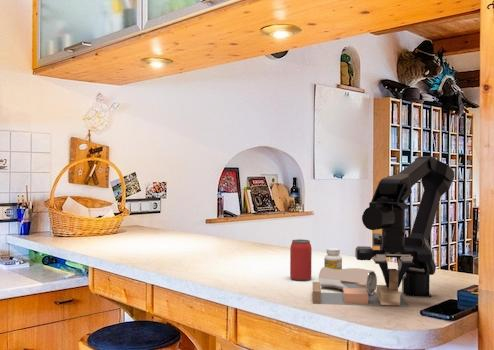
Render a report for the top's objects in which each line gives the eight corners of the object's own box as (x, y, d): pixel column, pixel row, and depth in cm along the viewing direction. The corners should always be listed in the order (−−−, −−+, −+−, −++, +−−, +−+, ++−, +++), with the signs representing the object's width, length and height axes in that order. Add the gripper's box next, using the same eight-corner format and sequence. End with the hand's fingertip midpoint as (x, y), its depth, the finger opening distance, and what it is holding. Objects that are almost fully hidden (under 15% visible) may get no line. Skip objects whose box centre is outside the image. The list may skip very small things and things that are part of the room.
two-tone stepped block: (394, 296, 141) (394, 266, 141) (400, 305, 132) (400, 273, 132) (376, 296, 142) (376, 266, 142) (381, 304, 133) (381, 273, 133)
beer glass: (331, 279, 157) (379, 285, 148) (321, 294, 152) (370, 300, 143) (325, 260, 155) (373, 264, 146) (315, 274, 150) (364, 280, 141)
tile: (365, 298, 141) (365, 288, 141) (368, 303, 135) (368, 294, 135) (342, 297, 141) (342, 288, 141) (344, 303, 135) (344, 293, 135)
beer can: (290, 276, 169) (290, 239, 169) (311, 276, 168) (311, 239, 168) (290, 280, 162) (290, 241, 162) (311, 281, 162) (311, 242, 162)
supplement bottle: (345, 280, 164) (345, 249, 164) (334, 282, 160) (334, 251, 160) (331, 277, 168) (331, 247, 168) (320, 279, 164) (320, 248, 164)
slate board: (401, 296, 144) (401, 284, 144) (409, 308, 132) (409, 294, 132) (312, 293, 147) (312, 281, 147) (312, 304, 135) (313, 291, 135)
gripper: (423, 224, 143) (422, 281, 144) (353, 223, 146) (353, 279, 146) (433, 229, 132) (432, 291, 133) (357, 227, 134) (357, 288, 135)
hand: (392, 287), depth 137 cm, fingers closed on two-tone stepped block, 2 cm apart
